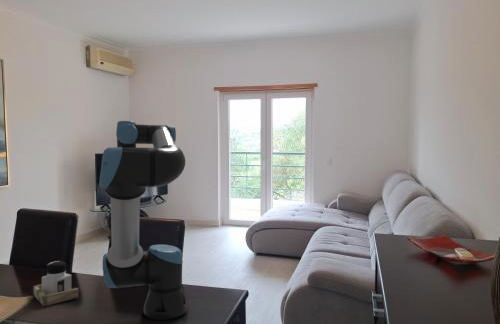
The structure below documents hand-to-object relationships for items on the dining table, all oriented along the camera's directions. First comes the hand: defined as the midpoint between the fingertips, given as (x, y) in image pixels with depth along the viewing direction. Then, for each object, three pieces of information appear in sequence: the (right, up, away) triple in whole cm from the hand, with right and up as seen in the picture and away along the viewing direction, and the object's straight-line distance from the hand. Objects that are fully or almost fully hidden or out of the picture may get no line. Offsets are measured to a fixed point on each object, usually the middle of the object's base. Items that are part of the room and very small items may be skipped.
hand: (126, 216), depth 151 cm
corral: (-25, -30, -6) cm, 40 cm away
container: (-26, -31, -6) cm, 40 cm away
